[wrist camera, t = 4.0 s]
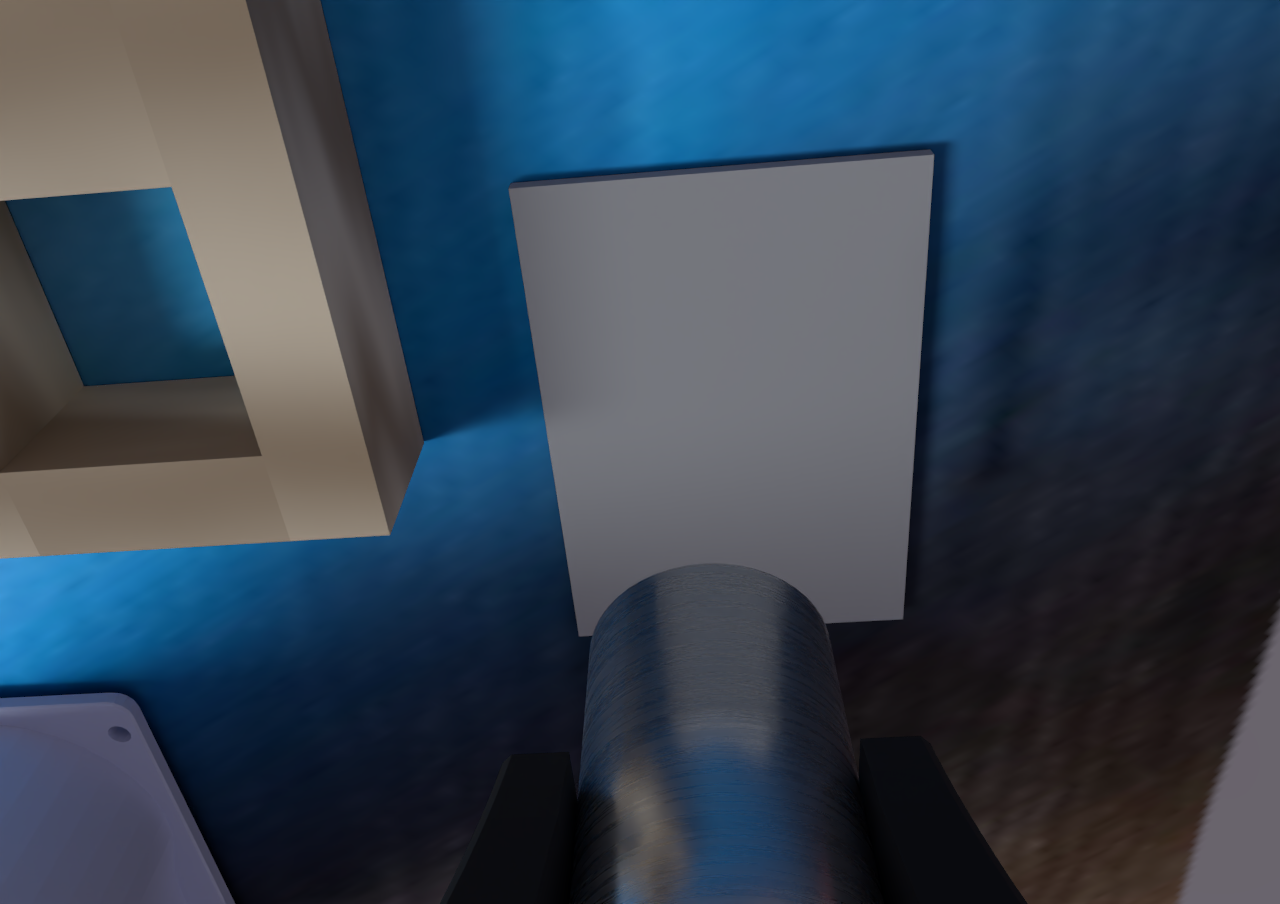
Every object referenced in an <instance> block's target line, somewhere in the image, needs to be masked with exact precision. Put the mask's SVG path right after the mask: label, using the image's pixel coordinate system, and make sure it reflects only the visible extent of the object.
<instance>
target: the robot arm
mask: <svg viewBox="0 0 1280 904" xmlns="http://www.w3.org/2000/svg"><path fill="white" fill-rule="evenodd" d="M859 785H860V790H861V795H862V800H863V804H864V809H865V814H866V819H867V824H868V829H869V834H870V838H871V843H872V848H873V853H874V858H875V863H876V867H877V872H878V877H879V881H880V886H881V890H882V895H883V900H884V904H1027V902H1026V901H1025V899H1024V898H1023V896H1022V895H1021V894H1020V892H1019V891H1018V889H1017V888H1016V886H1015V885H1014V883H1013V882H1012V880H1011V879H1010V877H1009V876H1008V874H1007V873H1006V871H1005V870H1004V868H1003V867H1002V865H1001V864H1000V862H999V861H998V859H997V858H996V856H995V854H994V853H993V851H992V850H991V848H990V846H989V845H988V843H987V842H986V840H985V838H984V837H983V835H982V834H981V832H980V831H979V829H978V827H977V826H976V824H975V823H974V821H973V819H972V818H971V816H970V814H969V813H968V811H967V809H966V808H965V806H964V804H963V803H962V801H961V799H960V797H959V796H958V794H957V792H956V791H955V789H954V787H953V785H952V784H951V782H950V780H949V778H948V776H947V774H946V773H945V771H944V769H943V767H942V765H941V764H940V762H939V760H938V758H937V756H936V754H935V752H934V750H933V748H932V746H931V744H930V743H929V742H927V741H926V740H925V739H924V738H922V737H921V736H912V737H890V738H868V739H860V760H859ZM577 804H578V802H577V796H576V790H575V785H574V779H573V773H572V767H571V761H570V756H569V752H558V753H536V754H514V755H511V756H510V757H508V758H507V759H506V760H505V761H504V762H503V763H502V766H501V768H500V771H499V774H498V776H497V779H496V782H495V784H494V787H493V789H492V792H491V794H490V797H489V799H488V802H487V804H486V807H485V809H484V811H483V814H482V816H481V818H480V821H479V823H478V825H477V827H476V830H475V832H474V834H473V836H472V839H471V841H470V843H469V845H468V847H467V849H466V851H465V854H464V856H463V858H462V860H461V862H460V864H459V866H458V868H457V871H456V873H455V875H454V877H453V879H452V881H451V883H450V885H449V887H448V889H447V891H446V893H445V895H444V897H443V899H442V901H441V902H440V904H569V903H570V891H571V878H572V866H573V853H574V841H575V828H576V816H577ZM0 904H235V902H234V900H233V898H232V896H231V894H230V892H229V890H228V888H227V886H226V884H225V882H224V880H223V878H222V876H221V873H220V871H219V869H218V867H217V865H216V863H215V861H214V859H213V857H212V855H211V853H210V851H209V849H208V847H207V845H206V843H205V841H204V839H203V837H202V834H201V832H200V830H199V828H198V826H197V824H196V822H195V820H194V818H193V816H192V814H191V812H190V810H189V808H188V806H187V804H186V802H185V800H184V798H183V796H182V793H181V791H180V789H179V787H178V785H177V783H176V781H175V779H174V777H173V775H172V773H171V771H170V769H169V767H168V765H167V763H166V761H165V759H164V757H163V755H162V752H161V750H160V748H159V746H158V744H157V742H156V740H155V738H154V736H153V734H152V732H151V730H150V728H149V726H148V724H147V722H146V720H145V718H144V716H143V713H142V711H141V709H140V707H139V706H138V705H137V703H136V702H135V701H134V700H133V699H132V698H130V697H129V696H127V695H124V694H121V693H92V694H73V695H53V696H34V697H14V698H0Z"/></svg>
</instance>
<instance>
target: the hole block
mask: <svg viewBox="0 0 1280 904" xmlns="http://www.w3.org/2000/svg"><path fill="white" fill-rule="evenodd" d="M164 187H172V190H173V193H174V196H175V198H176V201H177V204H178V207H179V210H180V213H181V216H182V219H183V222H184V225H185V228H186V231H187V234H188V237H189V240H190V243H191V246H192V249H193V252H194V255H195V258H196V261H197V264H198V267H199V270H200V273H201V276H202V279H203V282H204V285H205V288H206V291H207V294H208V297H209V300H210V303H211V306H212V309H213V312H214V315H215V318H216V321H217V323H218V326H219V329H220V332H221V335H222V338H223V341H224V344H225V347H226V350H227V353H228V356H229V359H230V362H231V365H232V368H233V371H234V374H235V376H224V377H210V378H196V379H182V380H167V381H153V382H139V383H124V384H110V385H96V386H84V385H83V383H82V380H81V378H80V376H79V373H78V371H77V369H76V366H75V364H74V362H73V359H72V357H71V355H70V352H69V350H68V348H67V345H66V343H65V341H64V338H63V336H62V334H61V331H60V329H59V327H58V324H57V322H56V320H55V317H54V315H53V313H52V310H51V308H50V305H49V303H48V301H47V298H46V296H45V294H44V291H43V289H42V287H41V284H40V282H39V280H38V277H37V275H36V273H35V270H34V268H33V266H32V263H31V261H30V259H29V256H28V254H27V252H26V249H25V247H24V245H23V242H22V240H21V238H20V235H19V233H18V231H17V228H16V226H15V224H14V221H13V219H12V217H11V214H10V212H9V210H8V207H7V205H6V203H5V200H17V199H29V198H41V197H53V196H66V195H78V194H90V193H102V192H115V191H127V190H139V189H151V188H164ZM423 444H424V441H423V437H422V433H421V428H420V424H419V420H418V415H417V411H416V407H415V403H414V398H413V394H412V390H411V386H410V381H409V377H408V373H407V368H406V364H405V360H404V356H403V351H402V347H401V343H400V339H399V334H398V330H397V326H396V321H395V317H394V313H393V309H392V304H391V300H390V296H389V292H388V287H387V283H386V279H385V274H384V270H383V266H382V262H381V257H380V253H379V249H378V244H377V240H376V236H375V232H374V227H373V223H372V219H371V215H370V210H369V206H368V202H367V197H366V193H365V189H364V185H363V180H362V176H361V172H360V168H359V163H358V159H357V155H356V150H355V146H354V142H353V138H352V133H351V129H350V125H349V121H348V116H347V112H346V108H345V103H344V99H343V95H342V91H341V86H340V82H339V78H338V74H337V69H336V65H335V61H334V56H333V52H332V48H331V44H330V39H329V35H328V31H327V26H326V22H325V18H324V14H323V9H322V5H321V1H320V0H0V558H16V557H33V556H50V555H66V554H83V553H100V552H116V551H133V550H150V549H166V548H183V547H200V546H217V545H233V544H250V543H267V542H283V541H300V540H317V539H333V538H350V537H367V536H383V535H390V534H391V531H392V528H393V526H394V523H395V520H396V517H397V515H398V512H399V509H400V507H401V504H402V501H403V498H404V496H405V493H406V490H407V487H408V485H409V482H410V479H411V477H412V474H413V471H414V468H415V466H416V463H417V460H418V458H419V455H420V452H421V449H422V447H423Z"/></svg>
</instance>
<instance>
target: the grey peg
mask: <svg viewBox="0 0 1280 904" xmlns="http://www.w3.org/2000/svg"><path fill="white" fill-rule="evenodd" d="M569 904H884V900H883V895H882V890H881V886H880V881H879V877H878V872H877V867H876V863H875V858H874V853H873V848H872V843H871V838H870V834H869V829H868V824H867V819H866V814H865V809H864V804H863V800H862V795H861V790H860V785H859V778H858V773H857V768H856V764H855V759H854V754H853V749H852V744H851V739H850V734H849V730H848V725H847V720H846V715H845V710H844V705H843V700H842V696H841V691H840V686H839V681H838V676H837V671H836V667H835V662H834V657H833V652H832V647H831V642H830V638H829V634H828V630H827V627H826V625H825V623H824V620H823V618H822V616H821V615H820V613H819V612H818V610H817V609H816V607H815V606H814V605H813V604H812V603H811V602H810V600H809V599H808V598H807V597H806V596H805V595H803V594H802V593H801V592H800V591H799V590H797V589H796V588H795V587H793V586H792V585H790V584H788V583H787V582H785V581H784V580H782V579H779V578H777V577H775V576H773V575H771V574H769V573H766V572H763V571H760V570H756V569H753V568H749V567H744V566H739V565H731V564H695V565H687V566H682V567H677V568H672V569H669V570H666V571H663V572H660V573H657V574H654V575H652V576H650V577H648V578H646V579H643V580H641V581H640V582H638V583H636V584H635V585H633V586H631V587H630V588H628V589H627V590H626V591H624V592H623V593H622V594H621V595H619V596H618V597H617V598H616V599H615V600H614V601H613V602H612V603H611V604H610V605H609V606H608V608H607V609H606V610H605V612H604V613H603V615H602V616H601V617H600V619H599V621H598V623H597V625H596V627H595V629H594V633H593V636H592V639H591V646H590V654H589V667H588V679H587V692H586V704H585V717H584V729H583V741H582V754H581V766H580V779H579V791H578V804H577V816H576V828H575V841H574V853H573V866H572V878H571V891H570V903H569Z"/></svg>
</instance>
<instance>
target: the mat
mask: <svg viewBox="0 0 1280 904" xmlns="http://www.w3.org/2000/svg"><path fill="white" fill-rule="evenodd" d="M933 166H934V154H933V152H932V151H931V150H930V149H928V150H916V151H904V152H891V153H879V154H866V155H854V156H841V157H829V158H816V159H804V160H791V161H779V162H767V163H754V164H742V165H729V166H717V167H704V168H692V169H679V170H667V171H654V172H642V173H629V174H617V175H605V176H592V177H580V178H567V179H555V180H542V181H530V182H517V183H511V184H510V186H509V195H510V201H511V207H512V214H513V220H514V227H515V233H516V239H517V246H518V252H519V258H520V265H521V271H522V277H523V284H524V290H525V296H526V303H527V309H528V315H529V322H530V328H531V334H532V341H533V347H534V354H535V360H536V366H537V373H538V379H539V385H540V392H541V398H542V404H543V411H544V417H545V423H546V430H547V436H548V442H549V449H550V455H551V462H552V468H553V474H554V481H555V487H556V493H557V500H558V506H559V512H560V519H561V525H562V531H563V538H564V544H565V550H566V557H567V563H568V569H569V576H570V582H571V589H572V595H573V601H574V608H575V614H576V620H577V627H578V633H579V636H593V633H594V629H595V627H596V625H597V623H598V621H599V619H600V617H601V616H602V615H603V613H604V612H605V610H606V609H607V608H608V606H609V605H610V604H611V603H612V602H613V601H614V600H615V599H616V598H617V597H618V596H619V595H621V594H622V593H623V592H624V591H626V590H627V589H628V588H630V587H631V586H633V585H635V584H636V583H638V582H640V581H641V580H643V579H646V578H648V577H650V576H652V575H654V574H657V573H660V572H663V571H666V570H669V569H672V568H677V567H682V566H687V565H695V564H731V565H739V566H744V567H749V568H753V569H756V570H760V571H763V572H766V573H769V574H771V575H773V576H775V577H777V578H779V579H782V580H784V581H785V582H787V583H788V584H790V585H792V586H793V587H795V588H796V589H797V590H799V591H800V592H801V593H802V594H803V595H805V596H806V597H807V598H808V599H809V600H810V602H811V603H812V604H813V605H814V606H815V607H816V609H817V610H818V612H819V613H820V615H821V616H822V618H823V620H824V623H841V622H860V621H878V620H897V619H903V611H904V597H905V582H906V567H907V552H908V537H909V522H910V507H911V493H912V478H913V463H914V448H915V433H916V418H917V403H918V389H919V374H920V359H921V344H922V329H923V314H924V299H925V285H926V270H927V255H928V240H929V225H930V210H931V195H932V181H933Z"/></svg>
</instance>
